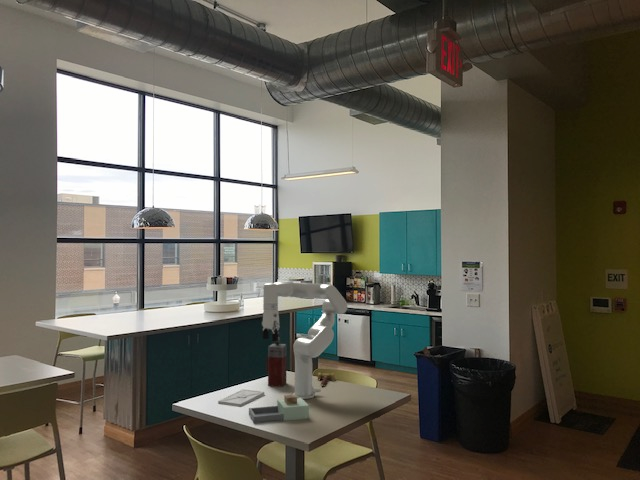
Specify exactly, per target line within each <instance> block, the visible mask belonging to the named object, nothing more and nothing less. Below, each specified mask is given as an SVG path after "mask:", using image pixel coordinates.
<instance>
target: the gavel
mask: <svg viewBox="0 0 640 480" xmlns="http://www.w3.org/2000/svg"><path fill="white" fill-rule="evenodd" d="M319 379H323V380H321V382H320V386H321V387H322V386H324V385H325V386H326V384H327V381H331V380H334V381H335V373H332V372H331V373H322V372H318V373H317V380H318V381H320V380H319ZM325 386H324V387H325Z"/></svg>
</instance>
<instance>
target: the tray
mask: <svg viewBox="0 0 640 480" xmlns="http://www.w3.org/2000/svg"><path fill="white" fill-rule="evenodd" d="M248 415H249V418H250V420H251V421H252V423H253V424H262V423H272V422H273V423H274V422H283V421H284V414H279V412H278V406H277V405H271V406H258V407H257V406H256V407H248ZM284 422H285V421H284Z"/></svg>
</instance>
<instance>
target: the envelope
mask: <svg viewBox="0 0 640 480" xmlns="http://www.w3.org/2000/svg"><path fill="white" fill-rule="evenodd" d="M264 396H265V391H261V390H253V389H245V388H244V389H240V390H238V391H236V392H234V393H232V394H230V395H228V396H226V397H224V398H222V399H219V400H218V401H217V402H218V404H221V405H228V406H233V407H243V406H245V405H247V404H249V403H251V402H253V401H255V400H257V399H259V398H261V397H264Z"/></svg>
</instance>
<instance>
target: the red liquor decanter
mask: <svg viewBox="0 0 640 480" xmlns="http://www.w3.org/2000/svg"><path fill="white" fill-rule="evenodd" d="M267 348H268V349H267V351H268V352H267V353H268V354H267V357H266V360H265V361H266V363H265V364H266V367H265V369H266V370H265V372H266V373H267V386H268V387H280V388H281V387H284V386H285V385H286V384H287V360H288V359H287V355H288V354H287V353H288V352H287V351H288V350H287V344H286V343H281V338H280V337H279V336H278V341H274V343H272V344H270V345H268V347H267Z"/></svg>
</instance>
